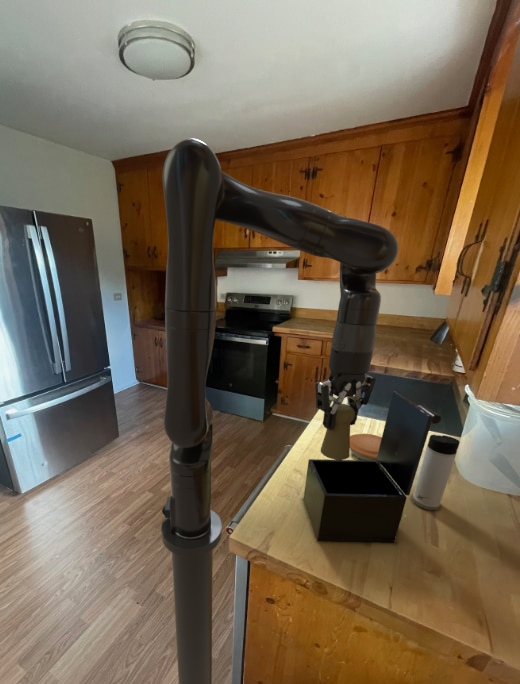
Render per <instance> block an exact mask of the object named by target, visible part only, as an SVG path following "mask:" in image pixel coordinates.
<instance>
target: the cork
mask: <svg viewBox="0 0 520 684" xmlns="http://www.w3.org/2000/svg"><path fill="white" fill-rule="evenodd" d="M330 406H331V407H332V405H330ZM335 414H336V417H335V423H334V429H333V430H328V429H327V428H326V431H325V435H324V437H323V441H322V443H321V447H320V453H321V454H322V455H323V456H324V457H326V458H328V459H330V460H348V458H350V452H351V450H350V436H351V425H350V423H351V422H352V421H353V419H354V417H355V411H354V409H353V408H352V407H351V406H350V405H349V404H347V403H346V404H345V403H342V404H339V406H338V408H337V410H336V412H335Z"/></svg>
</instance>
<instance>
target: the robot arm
mask: <svg viewBox="0 0 520 684" xmlns="http://www.w3.org/2000/svg"><path fill="white" fill-rule="evenodd" d="M162 167H163V168H162V177H161V178H162V187H163V188H162V189H163V194H164V195H163V196H164V205H165V215H166V228H167V260H166V270H165V271H166V272H165V294H164V295H165V296H164V297H165V298H164V317H165V318H164V323H165V324H164V329H165V330H164V331H165V356H166V359H165V360H166V371H167V372H166V373H167V385H166V399H165V407H164V408H165V409H164V415H163V429H164V432H165V435H166V437H167V438H168V440H169V441H170V442H171V445H170V450H169V457H168V458H169V459H168V464H169V480H170V481H169V482H170V483H169V484H170V496H167V498H166V503H165V505H164V506H163V507H162V509H161V513H162V515H163V516H164V519H165V518H168V519H169V518H170V523H171V534H175V535H177V536H178V537H180V538H182V539H186V540H195V539H199V538H202V537H203V536H205V535H206V534H207V533H208V532H209V531H210V529H211V510H212V455H213V442H214V441H213V440H214V439H213V437H214V411H213V407H212V405H211V403H210V401H209V400H208V399H207V397H206V396H207V395H206V390H207V389H206V387H207V386H206V385H207V377H208V372H209V367H210V362H211V359H212V354H213V349H214V343H215V334H216V323H217V321H216V319H217V284H216V281H217V280H216V272H215V271H216V270H215V261H214V236H215V227H216V221H219V222H223V223H226V224H231V225H234V226H237V227H240V228H244V229H247V230H250V231H252V232H255V233H257V234H260V235H262V236H263V237H267V238H269V239H272V240H273V241H276V242H279V243H281V244H284V245H285V246H288V247H291V248H293V249H296V250H297V251H301V252H303V253H306V254H309V255H311V256H313V257H317V258H322V259H323V258H324V259H330V260H334V261H337V262H338V263H339V290H340V292H339V293H340V295H339V296H340V298H339V302H338V309H337V316H336V321H335V326H334V330H333V334H332V340H331V348H330V355H329V361H328V368H329V371H330V373H329V376H328V378H327V380H325V381H316V383H315V385H314V388H315V406H316V409H318V410H321V411H322V412H323V417H322V418H323V419H322V425H323V427H324V428H325V429H326V430H327V429H328V430H333V429H334V423H335V417H336V414H335V412H336V410H337V408H338V406H339V404H343V403H344V400H345V399H347V405H349V406H351V407H352V408H353V409H354V411H355V417H354V419H353V421H352V422H351V423H350V426H354V425H356V422H357V420H358V416H359V410H360V409H361V408H362V406H363V405H364V406H366V405H368V404H369V401H370V398H371V395H372V392H373V389H374V387H375V384H376V381H377V379H376V377H374V376H372V375H368V374H369V372H370V369H371V364H372V358H373V353H374V349H375V343H376V338H377V324H378V319H379V314H380V309H381V302H382V296H381V293H380V291H379V290H378V289H377V285H376V284H377V274H379V273H382V272H383V271H385V270H387V269H388V268H390V267H391V266H392V265H393V263H394V262H395V261H396V259H397V257H398V253H399V243H398V240H397V237H396V236H395V234H394V233H392V232H391V231H390V230H389V229H388V228H386V227H384V226H381V225H379V224H375V223H372V222H369V221H364V220H361V219H358V218H357V219H356V218H354V217H353V218H352V217H346V216H343V215H340V214H337V213H336V212H334V211H332V210H329V209H327V208H325V207H322V206H321V205H320V206H319V205H317V204H315V203H312V202H310V201H307V200H304V199H301V198H298V197H293V196H290V195H286V194H280V193H274V192H271V191H265V190H262V189H259V188H255V187H253V186H251V185H247V184H245V183H243V182H241V181H238V180H237V179H236V178H233V177H232V176H230V175H229V174H227V173H226V172H224V171H222V166H221V164H220V161H219V159H218V157H217V155H216V154H215V152H214V151H213V150H212V149H211V148H210V146H209V145H207V144H206V143H205V142H203V141H201V140H199V139H197V138H185V139H182V140H180V141H178V143H176V144H175V145H174V146H173V147H172V148H171V149H170V151H169V152H168V154H167V155H166V158H165V161H164V163H163V166H162ZM363 394H364V396H363ZM331 406H332V407H331Z"/></svg>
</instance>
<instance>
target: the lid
mask: <svg viewBox="0 0 520 684" xmlns="http://www.w3.org/2000/svg"><path fill="white" fill-rule="evenodd" d="M441 421H442V417H441V415H439V414H438V413H436V412H435V411H434V410H432V409H431V408H429V407H428V406H426V405H425V404H423V403H420V404H418V405H417V403H415V402H413V401H412V400H411V399H409V398H407V397H406V396H405V395H404V394H403V393H401V392H399V391H398V390H393V391H392V395H391V399H390V402H389V407H388V411H387V415H386V419H385V423H384V427H383V431H382V434H381V437H382V439H381V443H380V447H379V451H378V455H377V460H378V461H379V463H380V464H381V466H382V467H383V468H384V469H385V471H386V472H387V473H388V474H389V476H390V477H391V478H392V479H393V481H394V482H395V483H396V484H397V486H398V487H399V488H400V489H401V491H402V492H403V493H404V494H405V496H410V494H411V491H412V488H413V484H414V481H415V479H416V475H417V471H418V468H419V465H420V462H421V458H422V455H423V452H424V449H425V445H426V442H427V438H428V435H429V433H430V429H431V425H432V424H433V425H436V424H439V423H440V422H441Z"/></svg>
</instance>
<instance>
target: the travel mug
mask: <svg viewBox="0 0 520 684" xmlns="http://www.w3.org/2000/svg"><path fill="white" fill-rule="evenodd" d="M460 443H461V442H460V440H458V439H457V438H456V437H453V436H450V435H444V434H443V435H438V434H431V435H429V439H428V442H427V445H426V449H425V452H424V456H423V459H422V463H421V466H420V471H419V473H418V477H417V480H416V483H415V488H414V491H413V495H412V501H413V503H414V504H415V505H417V506H418V507H419V508H422V509H425V510H428V511H436V510H438V509H439V508H440V506H441V503H442V500H443V496H444V493H445V490H446V487H447V484H448V481H449V478H450V475H451V472H452V468H453V467H454V462H455V459H456V456H457V452H458V449H459V446H460Z"/></svg>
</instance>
